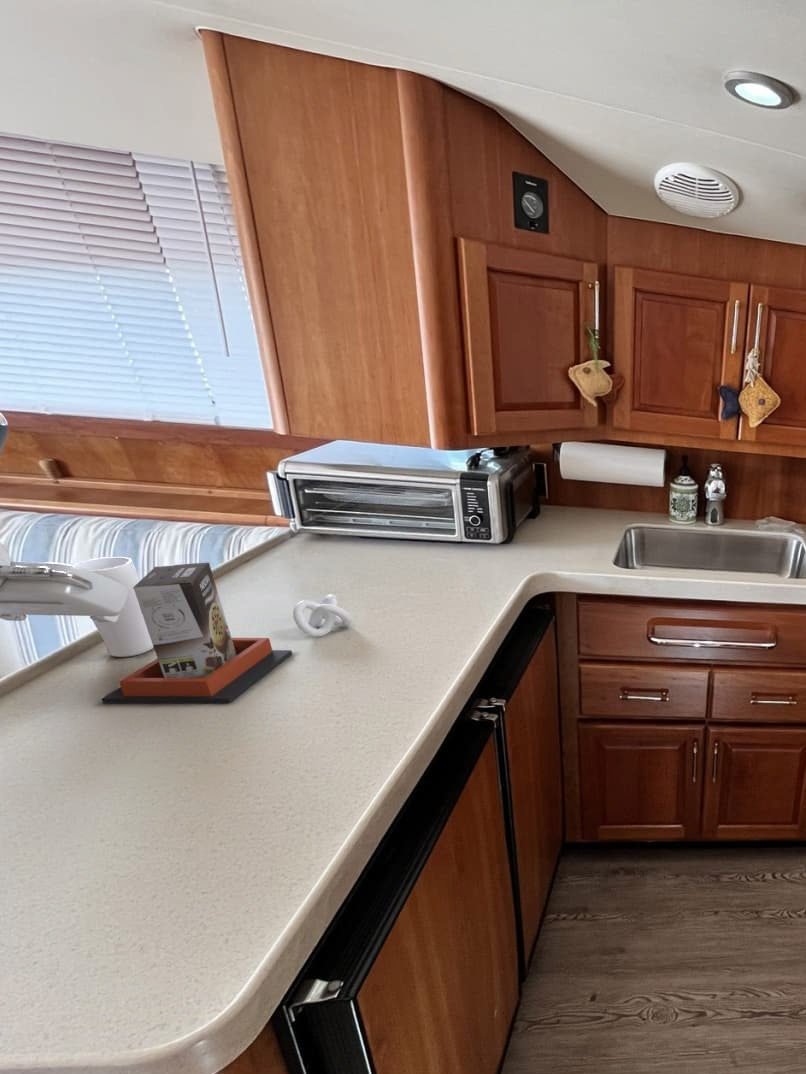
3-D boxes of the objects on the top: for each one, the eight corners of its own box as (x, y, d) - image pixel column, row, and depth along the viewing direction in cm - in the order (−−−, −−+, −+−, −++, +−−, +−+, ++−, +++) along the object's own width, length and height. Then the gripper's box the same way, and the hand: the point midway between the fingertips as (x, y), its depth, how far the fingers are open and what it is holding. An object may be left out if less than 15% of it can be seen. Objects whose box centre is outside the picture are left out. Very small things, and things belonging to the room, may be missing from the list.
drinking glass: (120, 664, 98) (85, 574, 92) (92, 655, 100) (57, 566, 94) (172, 646, 104) (143, 561, 98) (145, 638, 106) (115, 553, 100)
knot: (364, 621, 118) (358, 592, 115) (338, 640, 110) (331, 610, 108) (321, 619, 117) (314, 590, 115) (292, 638, 110) (284, 608, 107)
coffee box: (223, 682, 95) (192, 582, 88) (166, 689, 92) (129, 587, 86) (239, 655, 102) (211, 560, 96) (186, 661, 99) (153, 564, 93)
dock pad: (102, 703, 89) (94, 683, 88) (183, 653, 103) (177, 635, 101) (230, 703, 91) (223, 683, 90) (292, 654, 105) (288, 636, 104)
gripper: (73, 542, 66) (174, 593, 78) (-167, 534, 63) (-21, 589, 75) (48, 599, 63) (156, 641, 76) (-202, 593, 60) (-46, 639, 73)
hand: (66, 615), depth 76 cm, fingers open, 8 cm apart
